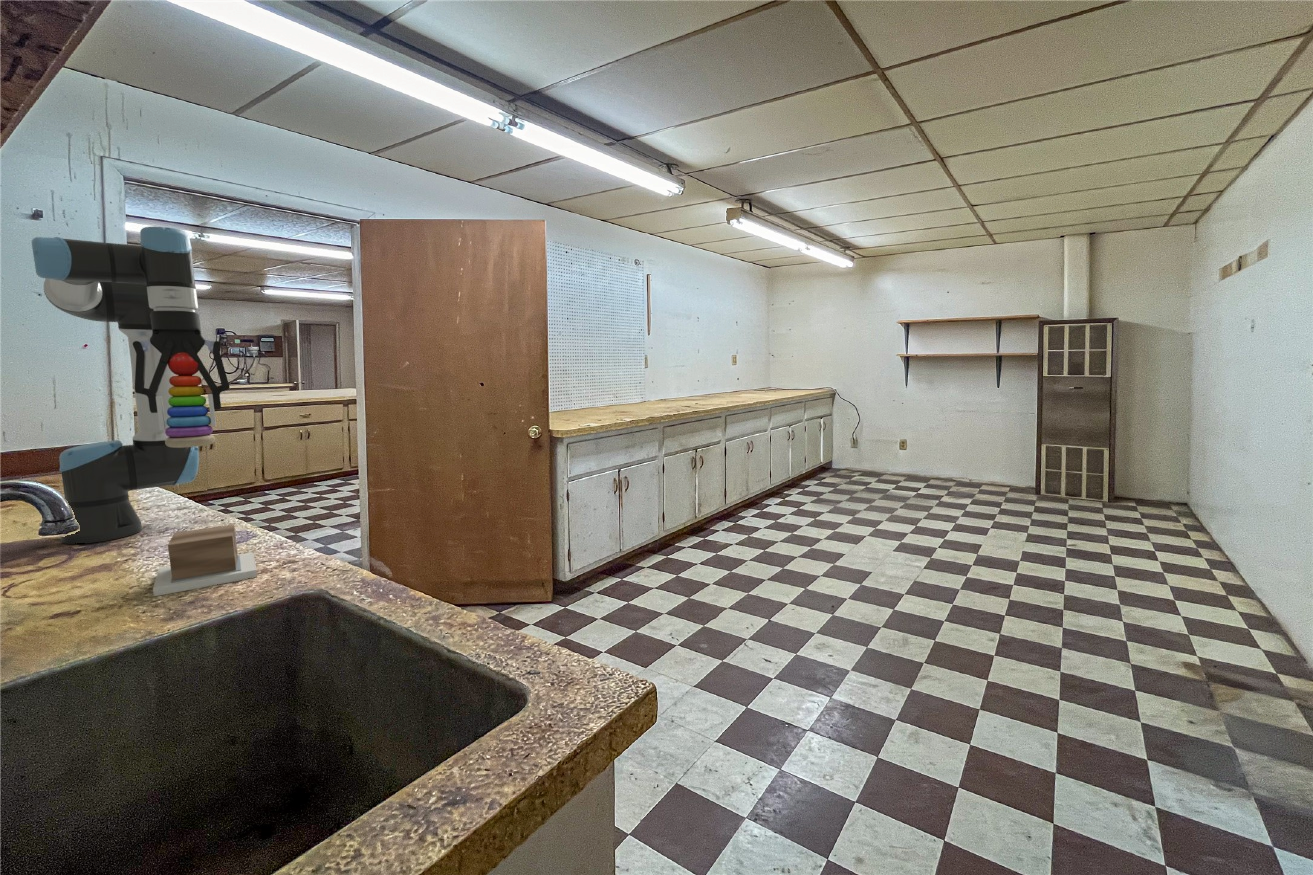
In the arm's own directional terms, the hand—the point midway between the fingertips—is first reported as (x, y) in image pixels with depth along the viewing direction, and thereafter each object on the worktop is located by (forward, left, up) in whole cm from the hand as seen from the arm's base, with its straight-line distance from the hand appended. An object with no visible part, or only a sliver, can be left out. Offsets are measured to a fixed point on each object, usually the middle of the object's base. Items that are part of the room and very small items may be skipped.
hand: (188, 427), depth 120 cm
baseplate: (+3, 0, -30) cm, 30 cm away
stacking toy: (0, 0, -4) cm, 4 cm away
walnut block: (+3, 0, -28) cm, 28 cm away
